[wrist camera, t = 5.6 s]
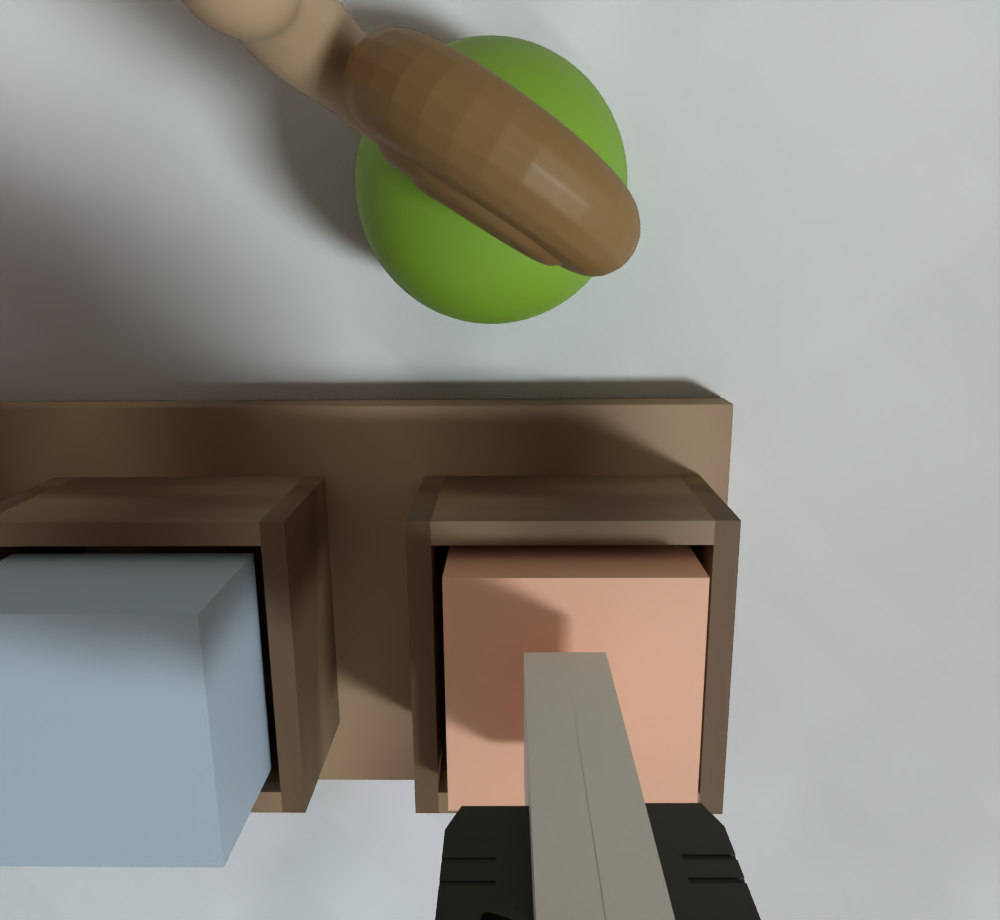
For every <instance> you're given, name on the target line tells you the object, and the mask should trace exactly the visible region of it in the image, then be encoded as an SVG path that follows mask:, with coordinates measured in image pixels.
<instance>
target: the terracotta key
mask: <svg viewBox="0 0 1000 920" xmlns="http://www.w3.org/2000/svg"><path fill="white" fill-rule="evenodd" d="M709 581H710V578H709V576H708V574H707V573H706V571H705V570H704V568H703V566H702V565H701V563H700V562H699V560H698V559H697V557H696V555H695V554H694V552H693V551H692V549H691V548H690V546H689V545H450V546H449V551H448V555H447V559H446V564H445V568H444V572H443V577H442V591H443V629H444V667H445V705H446V743H447V781H448V811H459V809H460V808H461V806H525V799H524V652H606V655H607V658H608V662H609V666H610V670H611V674H612V678H613V682H614V685H615V689H616V693H617V697H618V701H619V705H620V709H621V713H622V716H623V720H624V724H625V728H626V732H627V736H628V740H629V743H630V747H631V751H632V755H633V759H634V763H635V767H636V770H637V774H638V778H639V782H640V786H641V790H642V794H643V797H644V801H645V803H697V799H698V780H699V762H700V744H701V726H702V708H703V690H704V671H705V653H706V635H707V617H708V599H709Z"/></svg>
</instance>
